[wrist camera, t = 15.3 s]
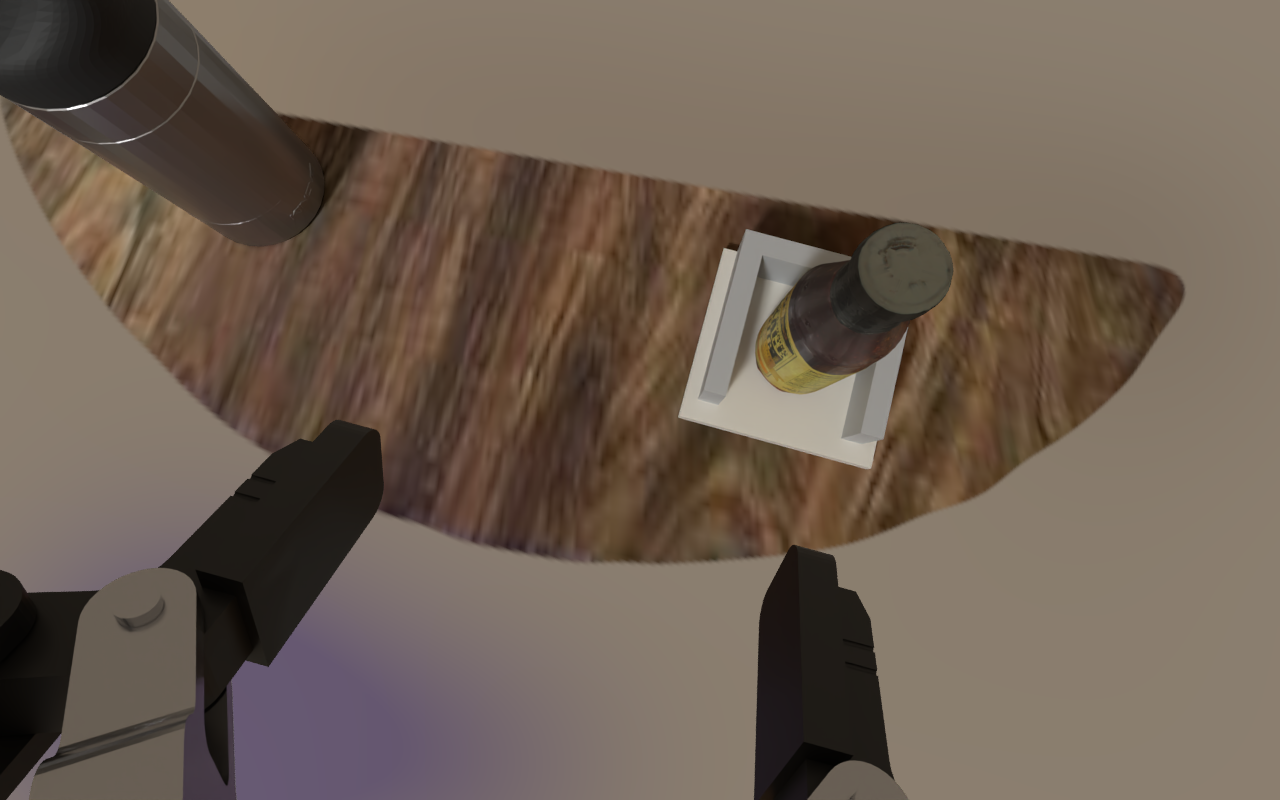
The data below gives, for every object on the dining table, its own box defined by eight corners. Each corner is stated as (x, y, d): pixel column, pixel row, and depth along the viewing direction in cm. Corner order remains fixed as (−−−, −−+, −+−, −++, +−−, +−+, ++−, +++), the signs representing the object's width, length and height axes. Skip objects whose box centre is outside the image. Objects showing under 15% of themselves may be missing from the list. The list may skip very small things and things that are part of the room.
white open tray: (678, 417, 46) (682, 408, 41) (722, 253, 48) (732, 225, 43) (865, 469, 46) (893, 465, 41) (903, 300, 48) (934, 278, 43)
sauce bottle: (768, 301, 47) (864, 159, 27) (848, 333, 46) (1005, 213, 27) (736, 382, 46) (810, 297, 26) (817, 415, 45) (956, 354, 26)
